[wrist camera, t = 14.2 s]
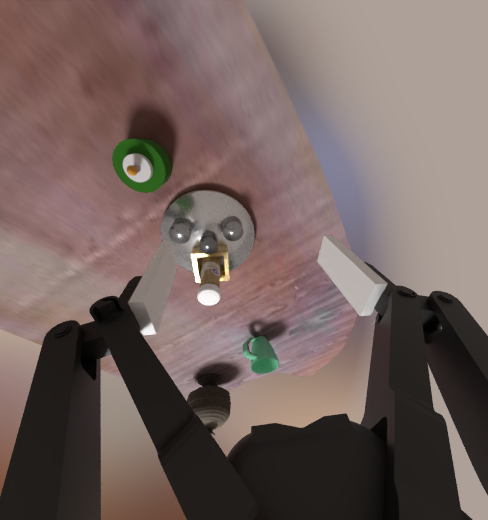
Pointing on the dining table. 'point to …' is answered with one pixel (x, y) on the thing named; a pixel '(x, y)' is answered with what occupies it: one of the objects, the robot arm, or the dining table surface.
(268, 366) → the mug
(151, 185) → the candle
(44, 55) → the dining table surface
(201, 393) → the pot
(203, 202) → the carrier
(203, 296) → the sprinkles bottle
